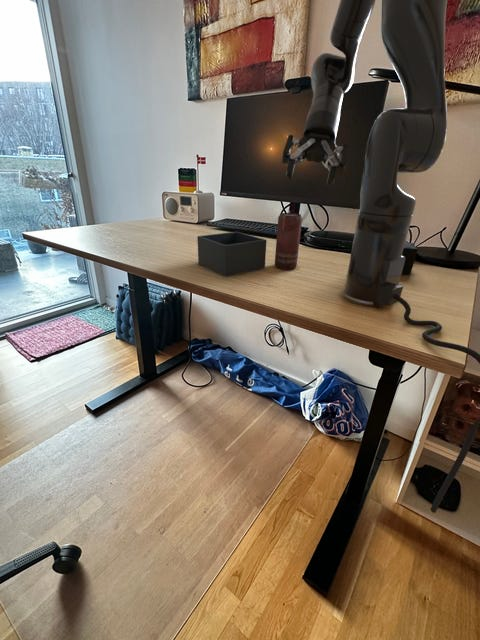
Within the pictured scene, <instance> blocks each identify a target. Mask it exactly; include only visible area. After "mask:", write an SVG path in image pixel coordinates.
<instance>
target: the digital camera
mask: <svg viewBox="0 0 480 640" xmlns="http://www.w3.org/2000/svg"><path fill="white" fill-rule="evenodd" d="M418 250H419V248H418V247H416V245H415V243H414V242H409V241H407V240H406V241H405V245H404V249H403V253H402V256H404V257H405V262H404V266H403V269H402V273H401V275H411V274H412V271H413V267H414V264H415V260H416V258H417V254H418V252H419V251H418Z"/></svg>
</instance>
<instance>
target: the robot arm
mask: <svg viewBox="0 0 480 640" xmlns="http://www.w3.org/2000/svg"><path fill="white" fill-rule="evenodd" d="M375 4H376V0H340V1H339V4H338V7H337V11H336V14H335V17H334V21H333V24H332V28H331V30H330V35H329V40H330V43H331V45H332V47H334V48H335V49H337V50H338V51H340V52H341V53H342V54H343V55H344V56H341V55H337V54H333V53H330V52H324V53H323V52H322V53H321V54H320V55H319V56H317V57H316V59H315V60H314V63H313V65H312V68H311V76H310V81H311V89H312V100H311V103H310V108H309V110H308V113H307V116H306V120H305V125H304V129H303V133H302V137H301V138H300V139H297V138H294V135H293V134H289V135H288V137H287V139H286V142H285V145H284V148H283V151H282V157H281V163H282V164H284V165H285V164H287V169H286V173H285V175H286V177H288V180H291V181H292V179H293V174H294V171H295V166H296V165H298V164H301V163H302V162H304V161H305V160H306V161H307V162H315V163H317V164H322V165H323V166H324V168H325V169H327V170H328V174H327V180H326V184H325V187H330V185H333V184H334V183H335V179H336V176H337V173H339V174H343V173H344V172H345V169H346V166H347V165H348V157H349V156H348V155H349V147H350V145H349V144H348V143H344V144H343V145H342V146H341V145H337V144H336V138H337V133H338V129H339V123H340V118H341V109H342V103H343V98H344V94H345V93H347V92H348V91H349V90H350V89H351V87H352V85H353V83H354V80H355V74H356V68H357V62H358V61H357V60H358V55H359V50H360V47H361V42H362V39H363V37H364V33H365V31H366V28H367V26H368V23H369V20H370V18H371V17H372V13H373V10H374V8H375ZM447 5H448V0H381V20H380V22H381V24H380V25H381V26H380V28H381V29H380V32H381V40H382V43H383V47H384V50H385V52H386V55H387V56H388V57H387V58H388V59H389V61H390V63H391V65H392V67H393V69H394V70H395V72H396V74H397V76H398V79H399V80H400V83H401V85H402V88H403V93H404V99H405V108H399V107H397V108H395V107H394V108H392V107H391V108H388V109H385V110H384V111H383V112H381V113H380V114H379V115H378V116H377V118H376V119H375V120H374V123H373V125H372V127H371V129H370V132H369V135H368V137H367V138H368V139H367V142H366V148H365V155H364V160H363V161H364V163H363V169H362V175H361V176H362V177H361V182H360V183H361V184H360V191H359V198H360V199H359V200H360V205H359V211H358V216H357V221H356V225H355V231H354V236H353V241H352V247H351V250H350V251H351V252H350V257H349V261H348V267H347V272H346V278H345V284H344V288H343V290H342V297H343V298H344V299H345V300H347V301H348V302H350V303H353V304H356V305H359V306H365V307H370V308H371V307H372V308H375V309H380V308H383V307H385V306H387V307H389V306H391V305H394V304H396V303H400V304H401V305H402V306H403V308H404V310H405V311H404V313H403V320H404V321H405V322H406V323H407V324H410V325H412V326H420V327H421V326H422V327H423V326H431V327H432V328H429V329H426V330H424V331H423V332H422V333H421V337H422V339H423V340H424V341H425V342H426V343H428V344H430V345H433V346H436V347H440V348H446V349H450V350H454V351H457V352H461V353H464V354H466V355H468V356H471V358H473V359H475V361H477V362H478V364H479V365H480V353H478V352H477V351H475V350H474V349H472V348H470V347H467V346H464V345H461V344H458V343H452V342H447V341H443V340H439V339H435V338H432V337H431V336H430V335H434V334H437V333H439V332H441V331H442V330H443V326H442V324H441V323H439V322H438V321H434V320H415V319H413V318H410V315H411V311H412V309H411V305H410V304H409V303H408V301H407V300H405V299H404V298H403V297H401V296H402V292H403V290H404V285H400V281H401V277H402V274H401V273H402V269H403V266H404V262H405V257H404V256H402V253H403V249H404V245H405V241H407V237H408V234H409V230H410V227H411V223H412V219H413V215H414V212H415V210H416V209H415V208H416V205H417V204H416V203H417V201H416V199H415V197H414V196H412V195H410V194H407V193H406V192H404V191H403V190H402V189H401V188H400V187H399V185H398V173H400V174H401V173H402V174H415V173H416V174H418V173H423V172H427V171H428V170H429V169H431V168H432V167H433V166H434V165H435V164H436V162H437V161H438V159H439V158H440V156H441V154H442V153H443V149H444V146H445V143H446V138H447V130H448V111H447V96H446V94H447V93H446V79H445V78H446V77H445V76H446V75H445V49H446V48H445V47H446V45H445V44H446V17H447ZM295 148H297V150H295V152H293V153H292V154H291V151H293V150H294V149H295ZM335 153H336V156H337V158H338V159H339V161H338V160H337V159H336V158H335ZM479 424H480V416H479V417H478V418H477V420H476V421H475V422H474V423H473V424H472V425H471V427H470V428H469V429H468V431H467V434H466V437H465V440H464V442H463V444H462V446H461V449H460V451H459V452H458V455H457V457H456V459H455V461H454V463H453V465H452V466H451V468H450V470H449V472H448V474H447V475H446V478H445V479H444V481H443V483H442V484H441V486H440V488H439V490H438V492H437V494H436V496H435V498H434V499H433V502H432V504H431V506H430V512H432V513H434V514H435V513H437V511H438V508H439V507H440V504H441V502H442V500H443V498H444V496H445V495H446V494H447V491H448V490H449V487H450V486H451V484H452V482H453V481H454V479H455V478H456V475H457V473H458V472H459V470H460V468H461V466H462V464H463V463H464V462H465V459H466V457H467V455H468V453H469V451H470V448H471V446H472V444H473V441H474V439H475V437H476V435H477V430H478V429H479Z"/></svg>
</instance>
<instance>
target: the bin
mask: <svg viewBox="0 0 480 640" xmlns="http://www.w3.org/2000/svg"><path fill="white" fill-rule="evenodd" d="M196 237H197V258H198V259H197V260H198V261H197V262H198V263H197V264H198V265H201V266H203V267H204V268H207V269H209V270H211V271H213V272H215V273H217V274H220V275H221V276H223V277H228V276H229V277H230V276H232V275H238V274H244V273H247V272H252V271H257V270H262V269H265V268H266V257H267V256H266V255H267V242H268V241H267V239H264V238H261V237H257V236H255V235H252V234H251V235H250V234H248V233H247V234H246V233H243V232H240V231H231V232H222V233H213V234H212V233H211V234H205V235H197V236H196Z"/></svg>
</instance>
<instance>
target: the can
mask: <svg viewBox="0 0 480 640" xmlns="http://www.w3.org/2000/svg"><path fill="white" fill-rule="evenodd" d="M302 221H303V217H302V214H300V213H296V212H295V213H294V212H281V213H279V216H278V218H277V227H276V228H277V229H276V241H275V252H274V253H275V254H274V267H275V268H276V269H279V270H284V271H285V270H286V271H290V270H294V269H296V268H297V266H298V260H299V259H298V257H299V248H300V240H301V231H302V223H303V222H302Z"/></svg>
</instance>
